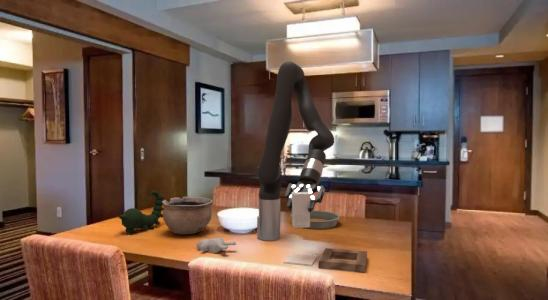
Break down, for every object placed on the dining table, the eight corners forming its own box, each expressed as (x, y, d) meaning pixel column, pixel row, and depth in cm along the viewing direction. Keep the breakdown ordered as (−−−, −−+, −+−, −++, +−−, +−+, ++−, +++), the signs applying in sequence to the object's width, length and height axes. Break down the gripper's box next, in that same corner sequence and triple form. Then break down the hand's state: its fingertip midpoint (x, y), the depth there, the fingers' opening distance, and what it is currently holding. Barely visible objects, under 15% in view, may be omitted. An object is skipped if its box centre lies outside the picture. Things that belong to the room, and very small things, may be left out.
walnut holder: (318, 268, 126) (318, 260, 126) (325, 254, 141) (325, 247, 141) (364, 272, 122) (364, 265, 122) (366, 258, 137) (366, 251, 136)
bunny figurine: (206, 235, 152) (237, 235, 145) (207, 248, 152) (239, 249, 145) (191, 241, 144) (223, 242, 137) (192, 255, 144) (224, 256, 137)
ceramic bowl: (187, 224, 187) (187, 194, 186) (222, 230, 176) (222, 198, 175) (152, 235, 168) (151, 201, 167) (188, 242, 157) (188, 206, 156)
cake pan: (287, 229, 180) (287, 219, 180) (293, 217, 204) (293, 209, 204) (339, 231, 176) (339, 221, 175) (339, 219, 200) (340, 211, 200)
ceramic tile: (283, 263, 131) (283, 261, 131) (290, 254, 141) (290, 253, 141) (312, 265, 129) (312, 264, 128) (317, 256, 138) (317, 255, 138)
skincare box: (307, 224, 137) (308, 191, 136) (310, 227, 132) (310, 193, 132) (291, 225, 136) (291, 191, 136) (292, 228, 132) (293, 193, 131)
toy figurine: (153, 227, 189) (109, 234, 167) (155, 189, 189) (112, 191, 168) (167, 229, 184) (124, 237, 162) (169, 190, 185) (126, 192, 163)
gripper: (291, 166, 143) (277, 201, 133) (327, 167, 137) (315, 205, 127) (296, 178, 148) (283, 213, 138) (331, 180, 142) (321, 218, 132)
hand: (299, 209), depth 133 cm, fingers closed on skincare box, 7 cm apart
